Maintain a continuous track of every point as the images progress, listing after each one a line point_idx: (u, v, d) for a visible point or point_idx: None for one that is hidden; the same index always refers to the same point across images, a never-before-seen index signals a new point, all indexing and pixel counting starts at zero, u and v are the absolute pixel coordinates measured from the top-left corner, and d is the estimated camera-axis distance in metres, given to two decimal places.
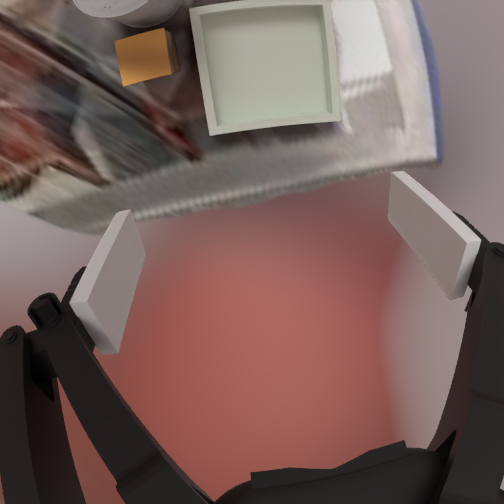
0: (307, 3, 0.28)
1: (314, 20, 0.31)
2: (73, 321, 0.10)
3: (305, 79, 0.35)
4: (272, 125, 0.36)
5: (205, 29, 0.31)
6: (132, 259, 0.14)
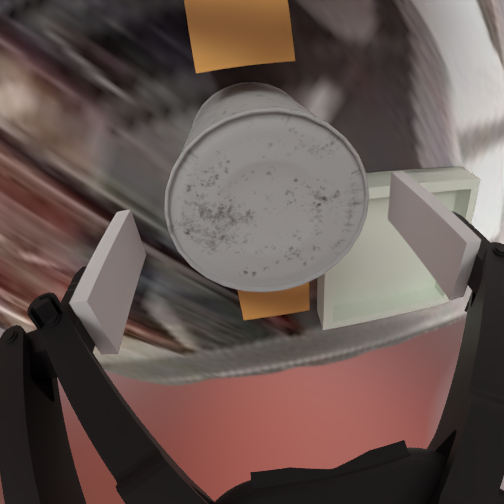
0: (458, 188, 0.25)
1: (452, 196, 0.28)
2: (73, 321, 0.10)
3: None
4: (387, 316, 0.34)
5: None
6: (132, 259, 0.14)
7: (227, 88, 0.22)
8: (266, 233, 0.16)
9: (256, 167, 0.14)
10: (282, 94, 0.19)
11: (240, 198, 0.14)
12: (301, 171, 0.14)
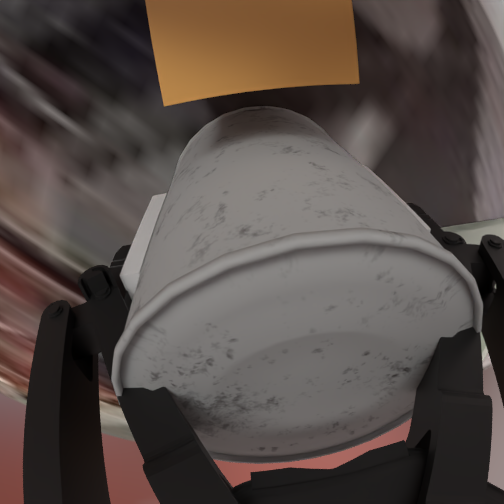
0: None
1: None
2: (122, 294, 0.11)
3: None
4: None
5: None
6: None
7: (226, 116, 0.14)
8: (300, 415, 0.08)
9: (293, 344, 0.06)
10: (319, 135, 0.11)
11: (257, 385, 0.07)
12: (381, 340, 0.07)
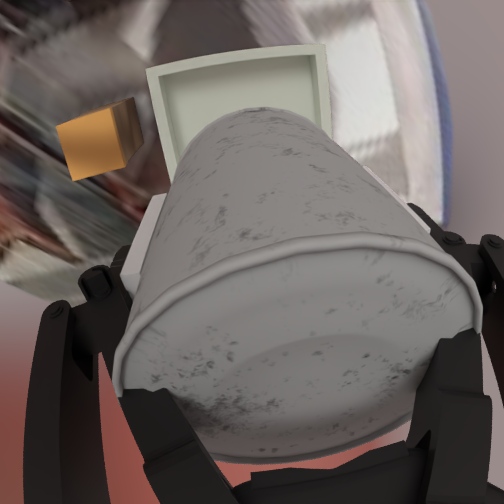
0: (295, 53, 0.24)
1: (305, 72, 0.27)
2: (122, 294, 0.11)
3: None
4: None
5: (169, 91, 0.27)
6: None
7: (226, 117, 0.15)
8: (301, 417, 0.08)
9: (293, 347, 0.06)
10: (320, 136, 0.11)
11: (257, 387, 0.07)
12: (381, 342, 0.07)
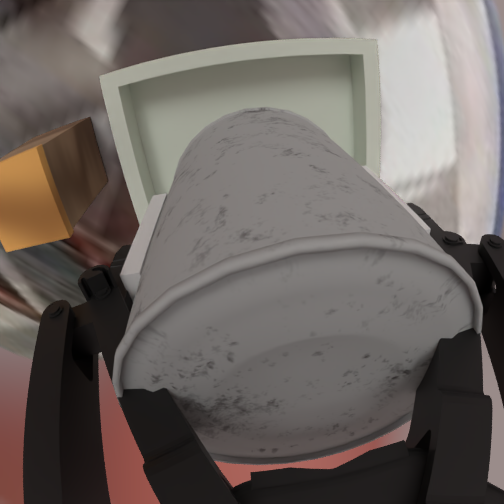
0: (334, 51, 0.15)
1: (343, 81, 0.18)
2: (122, 294, 0.11)
3: None
4: None
5: (139, 107, 0.18)
6: None
7: (226, 117, 0.15)
8: (301, 418, 0.08)
9: (293, 347, 0.06)
10: (320, 136, 0.11)
11: (257, 387, 0.07)
12: (381, 343, 0.07)
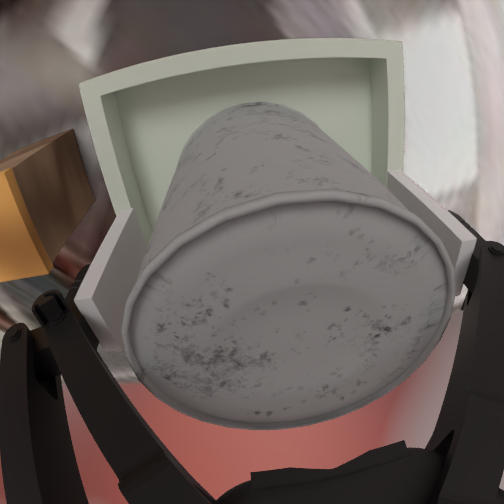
0: (353, 54, 0.13)
1: (362, 88, 0.16)
2: (77, 318, 0.10)
3: None
4: None
5: (126, 118, 0.16)
6: (135, 257, 0.14)
7: (225, 111, 0.16)
8: (292, 375, 0.09)
9: (280, 295, 0.07)
10: (309, 126, 0.13)
11: (251, 338, 0.08)
12: (359, 296, 0.08)
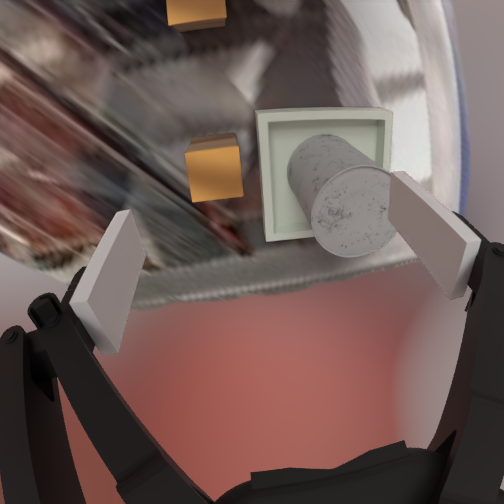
0: (372, 118, 0.33)
1: (373, 130, 0.36)
2: (73, 321, 0.10)
3: None
4: None
5: (269, 133, 0.36)
6: (132, 259, 0.14)
7: (315, 137, 0.36)
8: (356, 224, 0.29)
9: (357, 191, 0.28)
10: (354, 148, 0.33)
11: (347, 205, 0.28)
12: (376, 195, 0.28)
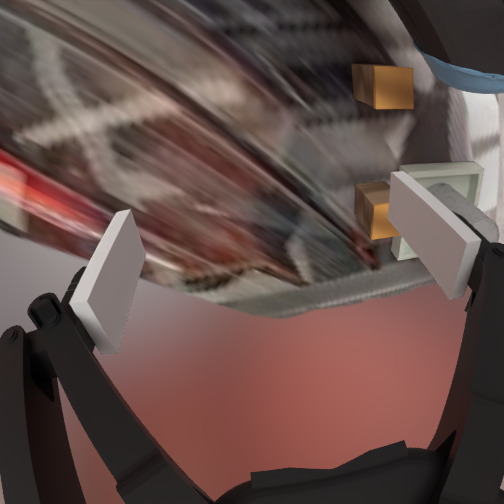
0: (472, 173, 0.43)
1: (468, 178, 0.46)
2: (73, 321, 0.10)
3: None
4: None
5: None
6: (132, 259, 0.14)
7: (435, 185, 0.46)
8: None
9: None
10: (464, 197, 0.42)
11: None
12: (486, 235, 0.38)
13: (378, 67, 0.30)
